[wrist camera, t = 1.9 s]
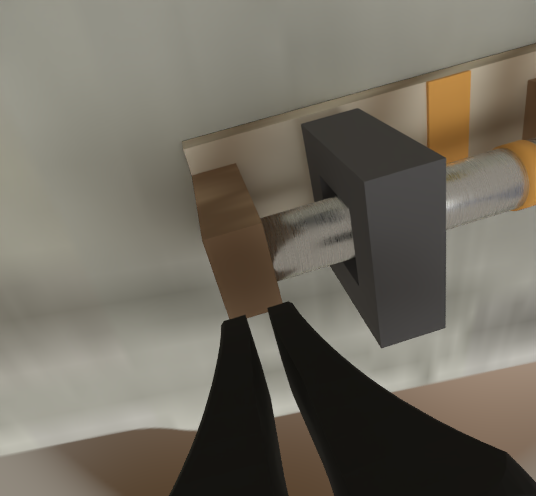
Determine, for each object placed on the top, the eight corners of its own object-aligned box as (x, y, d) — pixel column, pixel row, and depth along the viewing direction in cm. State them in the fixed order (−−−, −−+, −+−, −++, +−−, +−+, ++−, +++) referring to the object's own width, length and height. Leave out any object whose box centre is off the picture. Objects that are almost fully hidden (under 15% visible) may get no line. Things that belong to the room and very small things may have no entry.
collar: (357, 107, 17) (446, 157, 12) (371, 241, 21) (445, 327, 15) (300, 123, 17) (364, 181, 12) (323, 255, 21) (381, 348, 15)
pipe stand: (551, 39, 21) (717, 56, 14) (536, 157, 24) (668, 214, 18) (182, 141, 19) (190, 208, 13) (218, 252, 23) (239, 348, 16)
